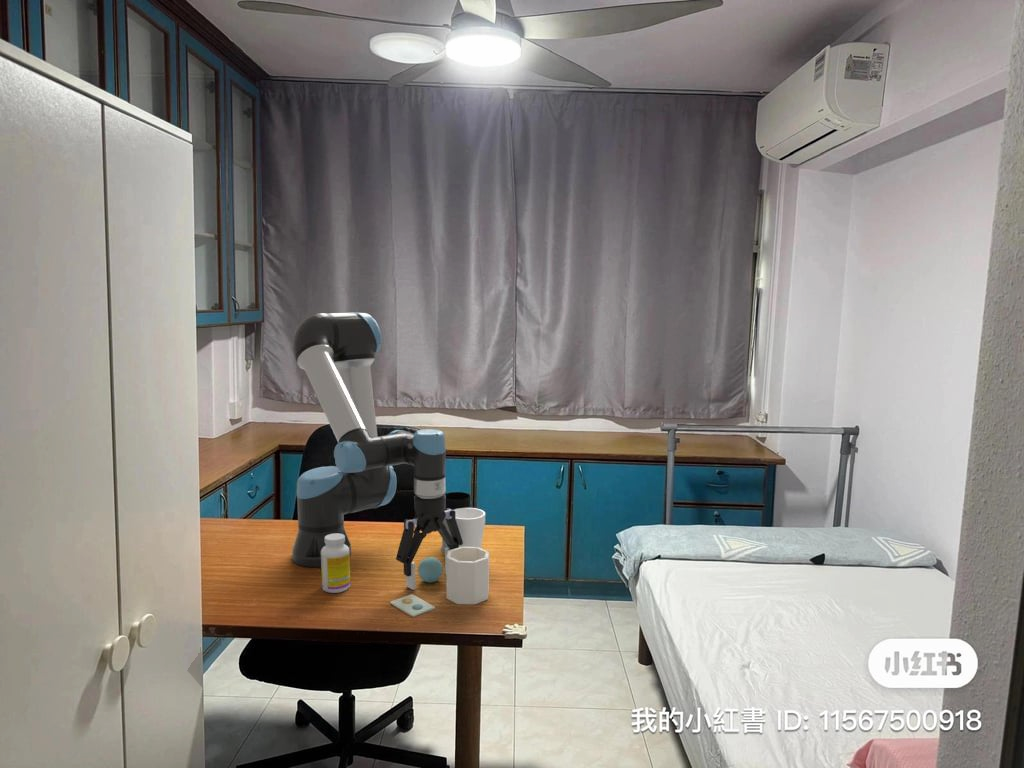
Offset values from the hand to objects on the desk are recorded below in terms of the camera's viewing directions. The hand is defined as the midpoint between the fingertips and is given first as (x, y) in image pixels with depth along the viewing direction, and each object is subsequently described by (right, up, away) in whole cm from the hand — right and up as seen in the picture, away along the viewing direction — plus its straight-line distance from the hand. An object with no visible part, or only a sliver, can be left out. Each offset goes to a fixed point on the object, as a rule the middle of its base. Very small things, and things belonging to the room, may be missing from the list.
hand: (430, 580), depth 174 cm
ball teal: (0, 0, 0) cm, 0 cm away
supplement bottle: (-22, -1, -4) cm, 23 cm away
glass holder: (+4, +3, +24) cm, 25 cm away
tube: (+10, -1, -7) cm, 12 cm away
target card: (-3, -2, -13) cm, 14 cm away
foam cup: (+8, +1, +13) cm, 16 cm away
